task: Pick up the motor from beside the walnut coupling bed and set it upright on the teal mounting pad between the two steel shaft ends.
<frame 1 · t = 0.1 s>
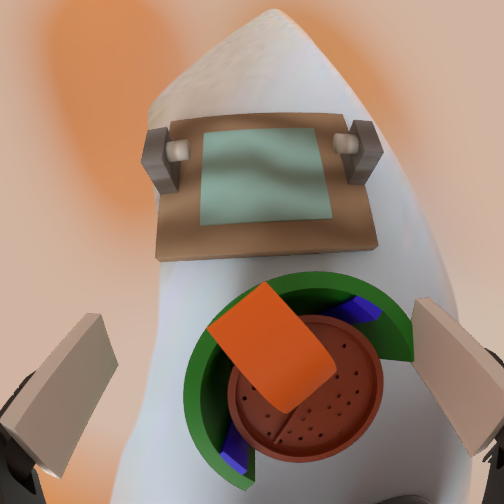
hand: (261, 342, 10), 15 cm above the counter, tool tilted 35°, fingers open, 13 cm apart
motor: (275, 359, 25), on the counter
coupling bed: (262, 178, 30), on the counter
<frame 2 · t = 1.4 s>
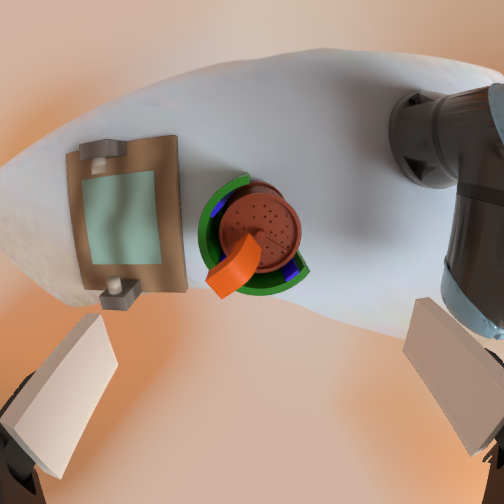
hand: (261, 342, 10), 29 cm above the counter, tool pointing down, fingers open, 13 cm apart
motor: (253, 212, 38), on the counter
coupling bed: (123, 218, 38), on the counter
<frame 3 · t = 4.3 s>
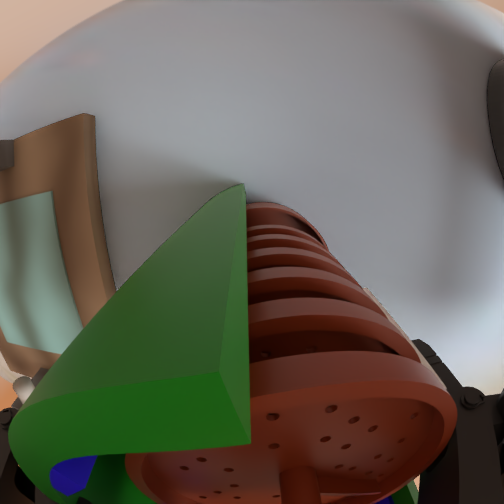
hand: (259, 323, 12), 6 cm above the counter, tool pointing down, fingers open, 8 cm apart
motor: (255, 268, 18), on the counter, touching gripper
coupling bed: (29, 275, 18), on the counter
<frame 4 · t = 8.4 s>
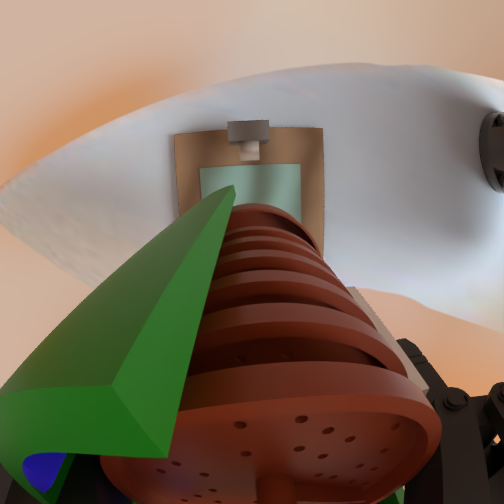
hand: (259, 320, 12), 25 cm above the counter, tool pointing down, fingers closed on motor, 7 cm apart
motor: (247, 270, 18), point 19 cm above the counter, touching gripper
coupling bed: (252, 216, 36), on the counter
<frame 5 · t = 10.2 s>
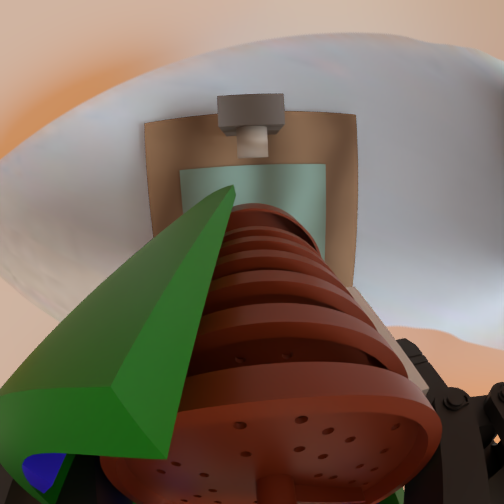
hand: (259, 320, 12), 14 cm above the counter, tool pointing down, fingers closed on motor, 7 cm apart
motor: (247, 270, 18), point 8 cm above the counter, touching gripper
coupling bed: (255, 237, 25), on the counter
when the fingers open (9 cm above the counter, at t = 12.0 s): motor drops 1 cm, resting on coupling bed.
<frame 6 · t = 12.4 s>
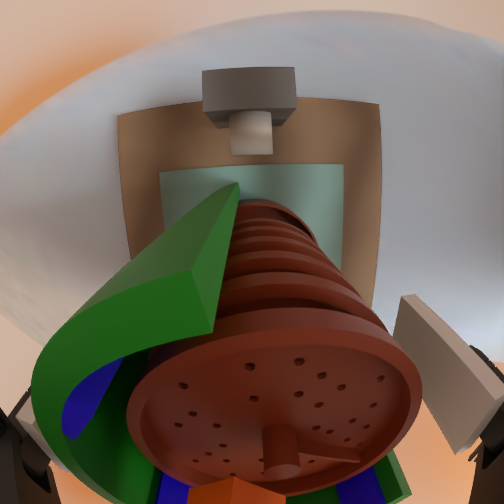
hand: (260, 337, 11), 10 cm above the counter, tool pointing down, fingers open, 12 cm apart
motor: (250, 261, 19), point 2 cm above the counter, touching coupling bed
coupling bed: (255, 255, 21), on the counter
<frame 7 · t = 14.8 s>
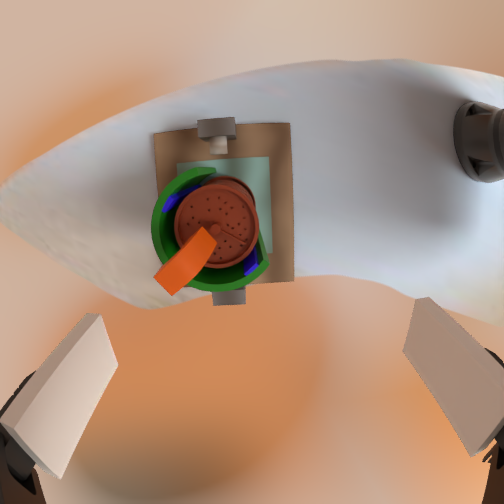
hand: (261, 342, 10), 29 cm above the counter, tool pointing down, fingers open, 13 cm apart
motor: (222, 208, 37), point 1 cm above the counter, touching coupling bed
coupling bed: (226, 206, 38), on the counter
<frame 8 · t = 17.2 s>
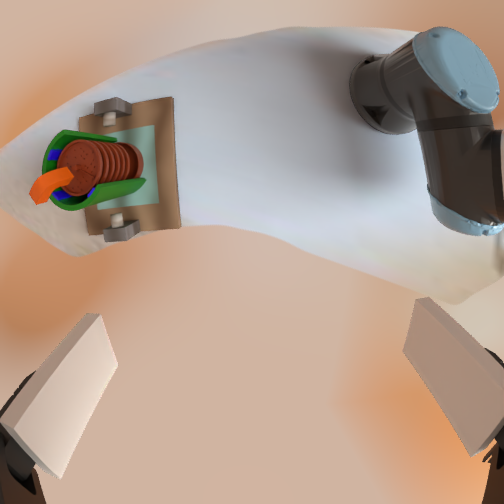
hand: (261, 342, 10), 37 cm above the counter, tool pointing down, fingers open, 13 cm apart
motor: (121, 168, 42), point 2 cm above the counter, touching coupling bed
coupling bed: (127, 168, 43), on the counter
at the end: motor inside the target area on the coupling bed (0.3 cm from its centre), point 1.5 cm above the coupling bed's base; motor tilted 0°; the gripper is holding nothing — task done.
